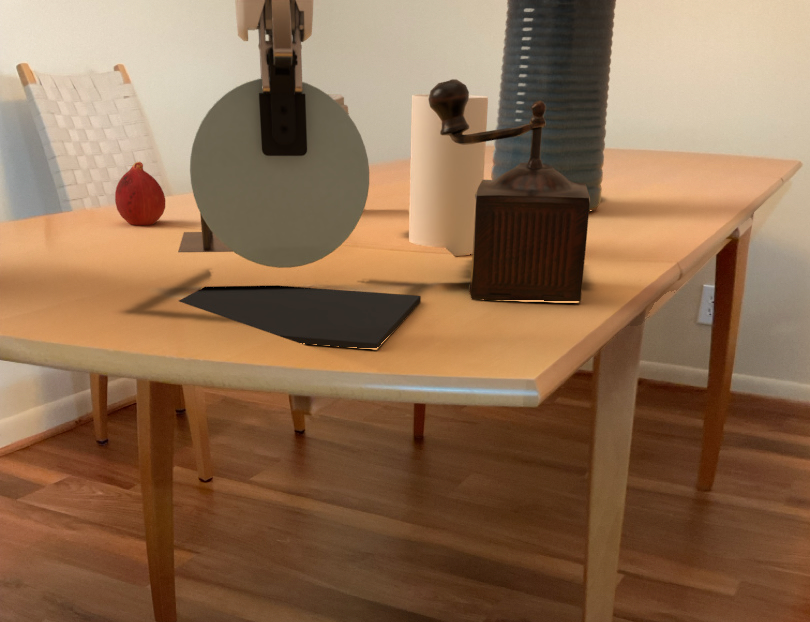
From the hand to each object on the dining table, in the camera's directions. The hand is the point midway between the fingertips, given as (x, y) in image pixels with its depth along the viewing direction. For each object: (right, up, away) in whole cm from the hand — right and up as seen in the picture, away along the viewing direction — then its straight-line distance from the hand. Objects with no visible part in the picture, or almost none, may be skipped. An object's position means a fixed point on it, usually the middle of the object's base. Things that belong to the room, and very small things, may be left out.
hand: (284, 152), depth 66 cm
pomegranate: (-23, +9, +46) cm, 52 cm away
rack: (-9, +5, +37) cm, 38 cm away
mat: (-1, -9, +12) cm, 15 cm away
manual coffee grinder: (+18, -4, +23) cm, 29 cm away
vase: (+29, +21, +69) cm, 78 cm away
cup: (+13, +5, +39) cm, 42 cm away
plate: (0, -7, +4) cm, 8 cm away
